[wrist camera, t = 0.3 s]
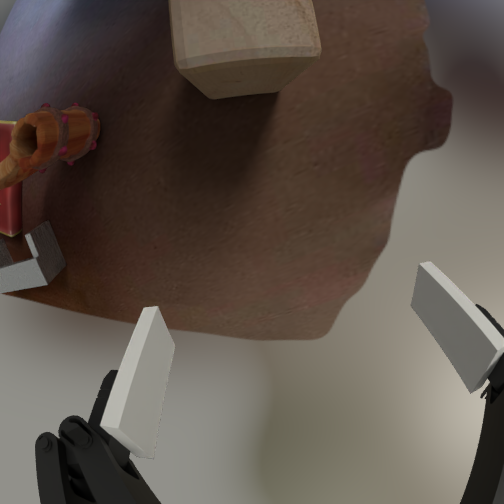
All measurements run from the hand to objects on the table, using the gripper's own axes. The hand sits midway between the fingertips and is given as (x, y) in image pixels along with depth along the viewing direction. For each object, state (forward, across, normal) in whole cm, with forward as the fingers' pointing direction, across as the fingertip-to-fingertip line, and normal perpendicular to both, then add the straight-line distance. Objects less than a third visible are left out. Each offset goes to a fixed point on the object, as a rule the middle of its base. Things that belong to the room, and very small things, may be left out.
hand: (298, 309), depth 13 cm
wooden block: (+28, 0, +18) cm, 33 cm away
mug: (+28, -27, +13) cm, 41 cm away
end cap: (+28, -46, -2) cm, 53 cm away
